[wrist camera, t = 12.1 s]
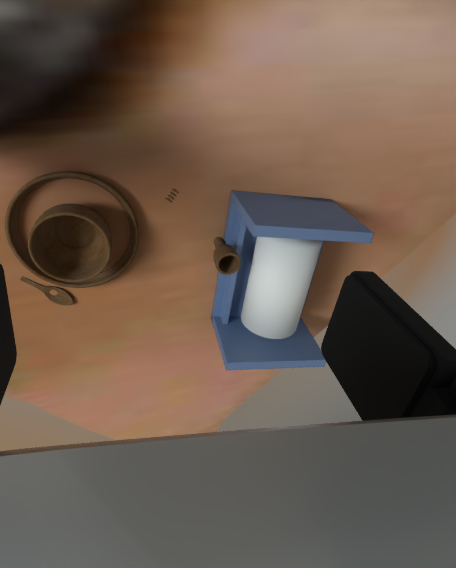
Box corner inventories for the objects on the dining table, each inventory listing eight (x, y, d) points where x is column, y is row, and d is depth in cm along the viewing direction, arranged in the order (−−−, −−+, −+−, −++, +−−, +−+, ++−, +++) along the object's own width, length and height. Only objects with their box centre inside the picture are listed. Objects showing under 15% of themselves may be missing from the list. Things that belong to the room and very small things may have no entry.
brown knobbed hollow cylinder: (63, 110, 33) (51, 122, 28) (238, 231, 42) (252, 256, 37) (-24, 262, 38) (-47, 295, 33) (149, 340, 47) (151, 374, 42)
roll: (252, 213, 39) (272, 240, 34) (308, 217, 41) (335, 242, 36) (233, 309, 45) (248, 344, 40) (283, 308, 47) (304, 342, 42)
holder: (231, 190, 39) (255, 225, 31) (330, 199, 42) (374, 233, 34) (211, 318, 47) (226, 370, 39) (295, 318, 50) (324, 366, 42)
